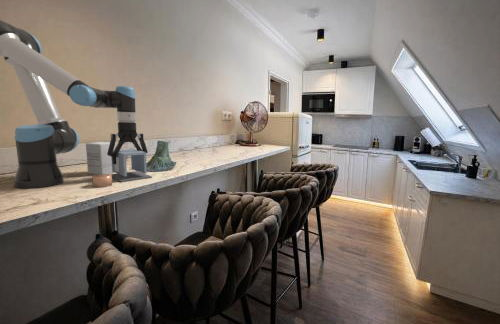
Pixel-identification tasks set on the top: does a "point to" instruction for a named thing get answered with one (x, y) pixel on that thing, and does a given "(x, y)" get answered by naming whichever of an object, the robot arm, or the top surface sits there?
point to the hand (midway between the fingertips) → (129, 169)
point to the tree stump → (160, 159)
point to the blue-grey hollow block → (136, 161)
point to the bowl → (102, 180)
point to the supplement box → (98, 158)
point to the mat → (130, 176)
